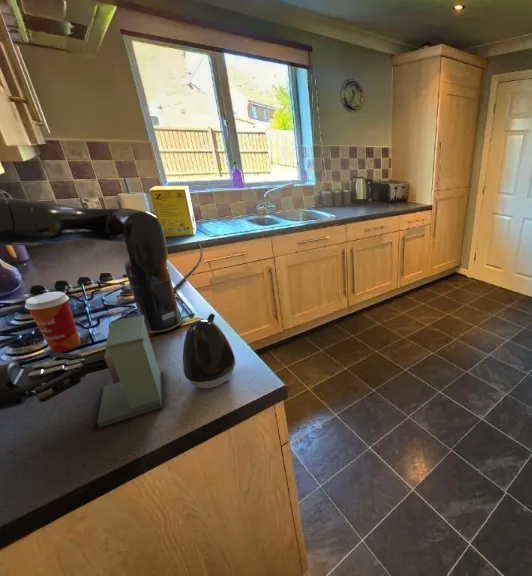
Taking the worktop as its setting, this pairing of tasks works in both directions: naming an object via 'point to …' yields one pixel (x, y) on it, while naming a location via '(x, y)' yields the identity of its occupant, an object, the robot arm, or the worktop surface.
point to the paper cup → (54, 320)
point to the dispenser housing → (130, 373)
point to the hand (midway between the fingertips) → (110, 360)
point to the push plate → (111, 367)
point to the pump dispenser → (207, 355)
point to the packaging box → (173, 210)
